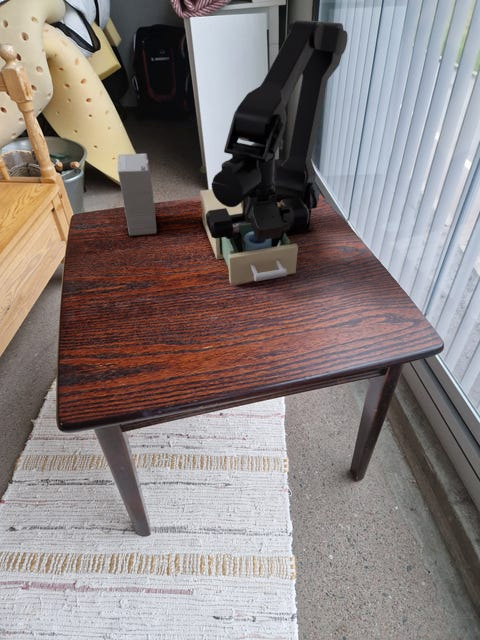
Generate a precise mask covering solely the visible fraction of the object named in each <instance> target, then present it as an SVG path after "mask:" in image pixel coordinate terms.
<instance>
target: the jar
mask: <svg viewBox="0 0 480 640" xmlns="http://www.w3.org/2000/svg"><path fill="white" fill-rule="evenodd" d="M271 242H272V239H266V240H264V241H259V240H257V239H256V238H255V236H254V232H249V233H247V234H246V235H245V236H244V239H243V247H244V252H247V251H253V250H259V249H265V248H271Z"/></svg>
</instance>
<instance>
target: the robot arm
mask: <svg viewBox="0 0 480 640" xmlns="http://www.w3.org/2000/svg"><path fill="white" fill-rule="evenodd" d="M348 39H349V37H348V31H347V30H344V25H343V23H341V22H333V21H332V22H330V21H320V20H319V21H318V20H303V19H296V20H295V21H291V22H290V23H289V26H288V29H287V35H286V38H285V40H284V41H283V43H282V46H281V48H280V49H279V51H278V53H277V55H276V56H275V59H274V60H273V62H272V63H271V65H270V68H269V70H268V72H267V74H266V76H265V77H264V79H263V81H262V82H261V84H260V85H259V86H258V87H256V88H255V89H252V90H251V91H250V92H248V93H247V94H246V95H245V96H244V98H243V99H242V101H241V102H240V103H239V104H238V106H237V108H236V109H235V111H234V112H233V113H234V114H233V115H232V116H233V117H232V119H231V120H232V121H231V123H230V127H229V131H228V134H227V138H226V142H225V145H224V149H223V153H224V154H229V155H231V158H229V159H227V160H225V161H224V162H222V163H221V170H220V171H219V172H217V173H216V174H215V175H214V177H213V178H212V182H211V189H212V191H213V193H214V195H215V197H216V199H217V200H218V201H219V202H220V203H222V204H223V205H225V206H227V207H236V206H237V205H239V204H240V203H241V208H242V213H240V214H234V215H229V213H228V211H227V209H226V208H223V209H217V210H210V211H208V212H207V214H206V223H207V226H208V229H209V231H210V234H211V236H212V238H215V239H216V238H222V237H226V238H227V239H232V240H233V241H234V243H235V245H236V247H237V250H238V252H239V253H241V252H243V247H242V240H241V238H242V234H241V232H240V230H239V225H244V224H250V223H251V226H252V229H253V232H254V236H255V238H256V239H257V240H259V241H264V240H266V239H272V242H271V247H277V246H278V244H279V241H280V239H281V238H282V236H283V234H284V233H285V234H286V235H287V236H290V235H297V234H302V233H309V232H312V231H313V227H312V226H311V217H312V216H311V215H312V209H317V208H318V203H319V200H320V194H321V192H320V190H319V188H318V187H317V185H316V184H315V182H316V176H317V173H316V170H315V167H314V164H313V161H312V157H313V153H314V148H315V143H316V138H317V133H318V128H319V123H320V118H321V113H322V109H323V103H324V100H325V99H324V98H325V94H326V88H327V84H328V80H329V79H330V78H331V76H332V75H333V74H334V72H336V70H337V69H338V67H339V66H340V64H341V60H342V57H343V56H342V55H343V54H344V53H345V51H346V49H347V45H348ZM301 76H302V78H301ZM300 78H301V83H300V84H301V85H300V89H299V95H298V100H297V101H298V102H297V107H296V113H295V118H294V123H293V129H292V134H291V140H290V145H289V152H288V156H287V158H286V159H285V160H284V162H283V163H282V164H279V165H278V167H277V168H276V153H277V150H278V149H279V148H280V146H281V145H280V143H281V140H282V138H283V135H284V132H285V129H286V123H287V113H286V112H287V111H286V106H287V104H288V102H289V99H290V98H291V96H292V95H293V92H294V90H295V88H296V87H297V86H296V85H298V82H299V80H300ZM239 140H241V141H244V142H249V143H252V144H247V143H244V142H243V143H242V142H238V141H239ZM275 169H276V170H275ZM275 171H276V174H275ZM275 175H276V176H275ZM278 203H279V204H278Z"/></svg>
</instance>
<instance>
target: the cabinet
mask: <svg viewBox="0 0 480 640" xmlns="http://www.w3.org/2000/svg"><path fill="white" fill-rule="evenodd" d="M199 196H200V206H201V218H202V224H203V227H204V229H205V232H206V235H207V237H208V240H209V243H210V245H211V249H212V250H213V254H214V256H215V259H216V260H222V259H224V256H223V254H222V251H221V249H220V243H219V238H216V239H215V238H212V236H211V234H210V231H209V229H208V226H207V223H206V214H207V212H208V211H210V210H217V209H223V208H226V209H227V211H228V213H229V215H234V214H240V213H242V208H241V203H240V204H239V205H237V206H236V207H227V206H225V205H223V204H222V203H220V202H219V201H218V200H217V199H216V197H215V195H214V193H213V191H212V188H211V189H203V190H200V191H199ZM250 224H251V223H250ZM244 225H249V224H244ZM239 226H242V225H239Z"/></svg>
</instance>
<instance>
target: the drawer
mask: <svg viewBox="0 0 480 640" xmlns="http://www.w3.org/2000/svg"><path fill="white" fill-rule="evenodd" d="M239 230H240V232H241V234H242V238H241V240H242V247H243V239H244V236H245V235H246V234H247V233H249V232H253V229H252V226H251V224H249V225H242V226H239ZM219 243H220V249H221V251H222V254H223V256H224V258H223V259H224V261H225V264H226V266H227V269H228V282H229V284H230V285H236V284H240V283H241V284H242V283H247V282H252V281H254V282H260V281H261V282H262V281H266V280H272V279H276V278H283V277H287V276H288V275H292V274H296V272H297V262H298V261H297V260H298V251H299V246H298V244H297V243H291V240H290V239H289V237H288V235H286V234H285V233H284V234H283V236H282V238H281V239H280V241H279V244H278V246H277V247H271V248H265V249H259V250H253V251H247V252H244V247H243V252H241V253H239V252H238V250H237V247H236V245H235V243H234V241H233V240H232V239H227V238H226V237H222V238H219Z"/></svg>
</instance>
